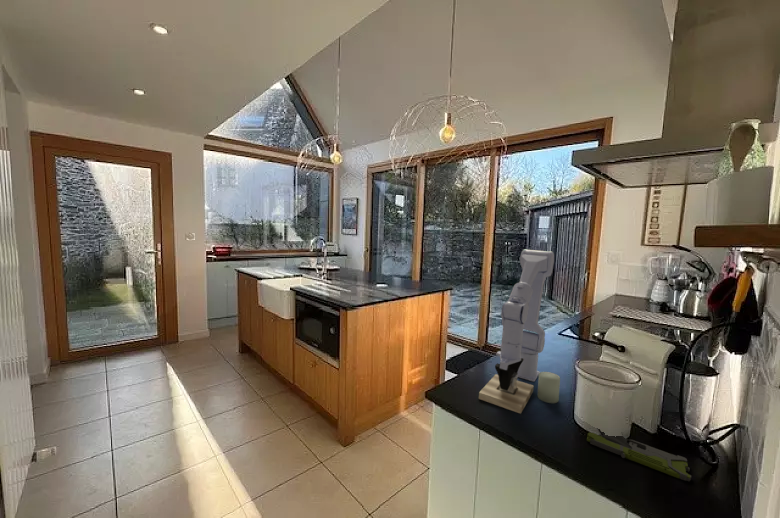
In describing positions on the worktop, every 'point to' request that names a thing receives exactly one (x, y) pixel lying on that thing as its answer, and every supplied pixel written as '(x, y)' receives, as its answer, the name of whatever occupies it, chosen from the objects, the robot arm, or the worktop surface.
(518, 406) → the socket board
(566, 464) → the worktop surface
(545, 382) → the round peg
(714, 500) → the worktop surface
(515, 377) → the square peg
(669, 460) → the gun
